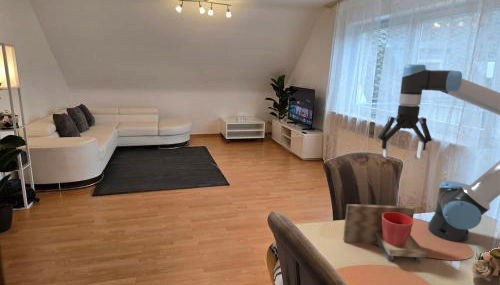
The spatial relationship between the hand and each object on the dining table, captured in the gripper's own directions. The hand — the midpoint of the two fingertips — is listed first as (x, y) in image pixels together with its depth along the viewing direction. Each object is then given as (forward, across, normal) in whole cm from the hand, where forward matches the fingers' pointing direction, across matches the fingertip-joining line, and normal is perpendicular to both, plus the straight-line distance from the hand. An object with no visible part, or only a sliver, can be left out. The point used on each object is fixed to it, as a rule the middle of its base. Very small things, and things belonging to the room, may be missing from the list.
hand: (401, 157), depth 129 cm
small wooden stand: (+35, +3, +15) cm, 38 cm away
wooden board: (+35, +9, +7) cm, 37 cm away
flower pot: (+30, +5, +14) cm, 33 cm away
